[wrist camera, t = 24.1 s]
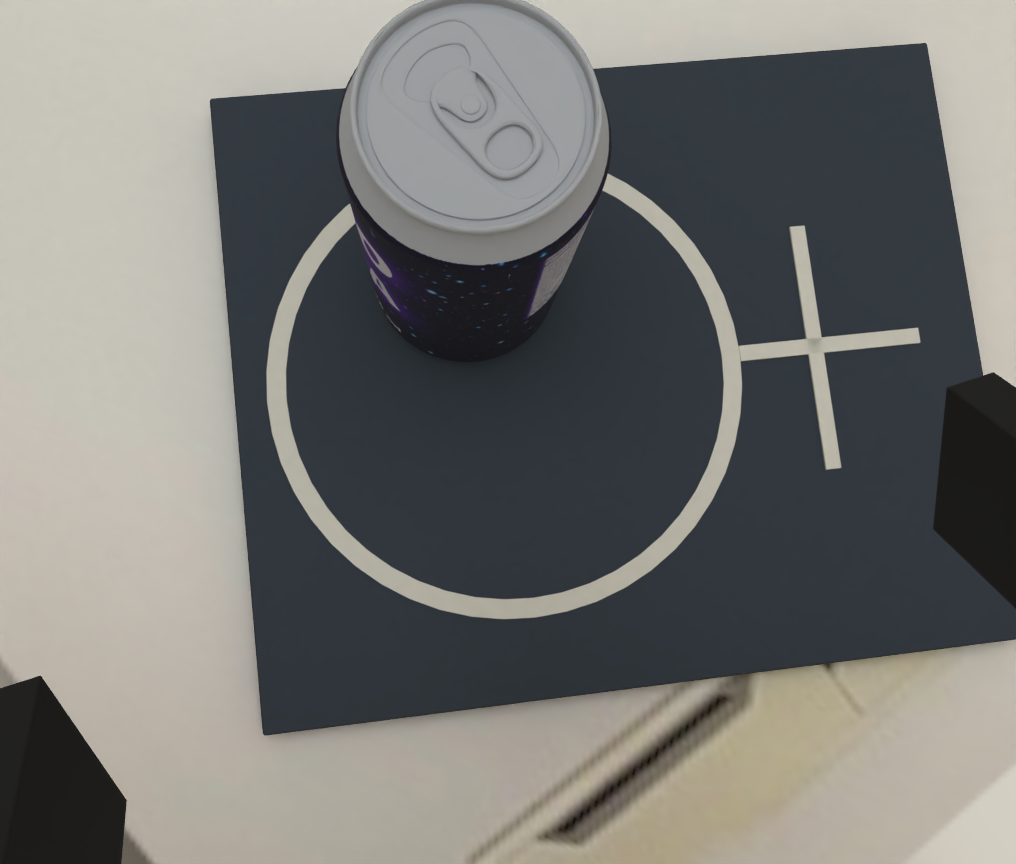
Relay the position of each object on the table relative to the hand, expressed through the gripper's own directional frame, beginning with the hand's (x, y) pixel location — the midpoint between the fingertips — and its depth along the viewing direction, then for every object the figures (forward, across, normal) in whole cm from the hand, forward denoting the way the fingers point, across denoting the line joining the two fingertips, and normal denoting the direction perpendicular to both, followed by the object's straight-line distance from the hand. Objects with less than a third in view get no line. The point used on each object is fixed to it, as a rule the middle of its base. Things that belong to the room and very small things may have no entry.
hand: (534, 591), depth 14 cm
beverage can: (+18, +2, -3) cm, 18 cm away
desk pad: (+16, +6, -7) cm, 18 cm away
